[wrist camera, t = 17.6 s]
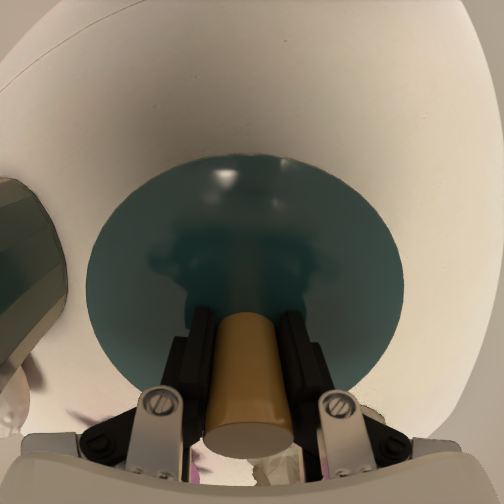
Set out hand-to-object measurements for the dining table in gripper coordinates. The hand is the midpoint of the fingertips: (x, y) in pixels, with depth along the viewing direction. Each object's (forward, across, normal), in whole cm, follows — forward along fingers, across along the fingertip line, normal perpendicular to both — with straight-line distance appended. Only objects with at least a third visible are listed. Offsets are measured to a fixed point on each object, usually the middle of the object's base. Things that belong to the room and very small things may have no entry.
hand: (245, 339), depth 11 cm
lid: (+1, 0, 0) cm, 1 cm away
